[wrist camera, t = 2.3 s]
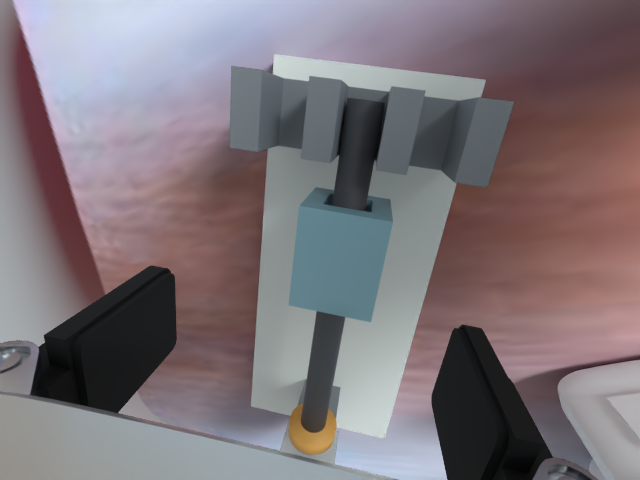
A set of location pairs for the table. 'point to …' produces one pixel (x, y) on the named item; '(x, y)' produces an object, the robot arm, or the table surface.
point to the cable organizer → (606, 416)
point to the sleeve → (339, 255)
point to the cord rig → (352, 192)
